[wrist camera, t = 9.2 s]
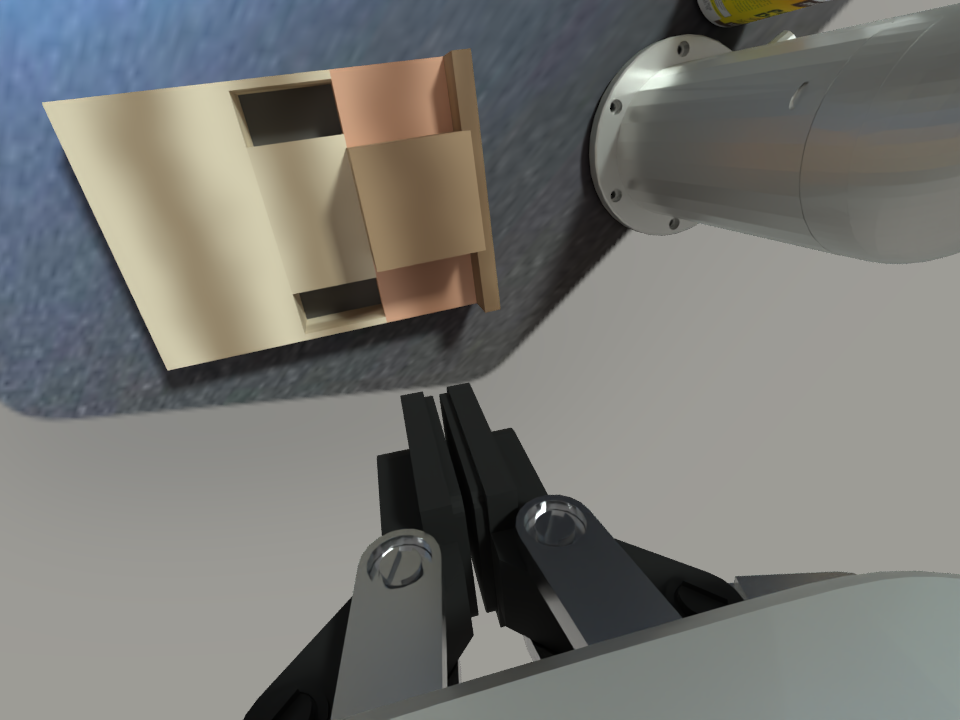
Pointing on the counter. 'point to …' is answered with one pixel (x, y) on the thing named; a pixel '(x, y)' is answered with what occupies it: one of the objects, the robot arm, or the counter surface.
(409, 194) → the block
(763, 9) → the supplement bottle
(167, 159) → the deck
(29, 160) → the counter surface
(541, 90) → the counter surface
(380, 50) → the counter surface
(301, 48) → the counter surface
